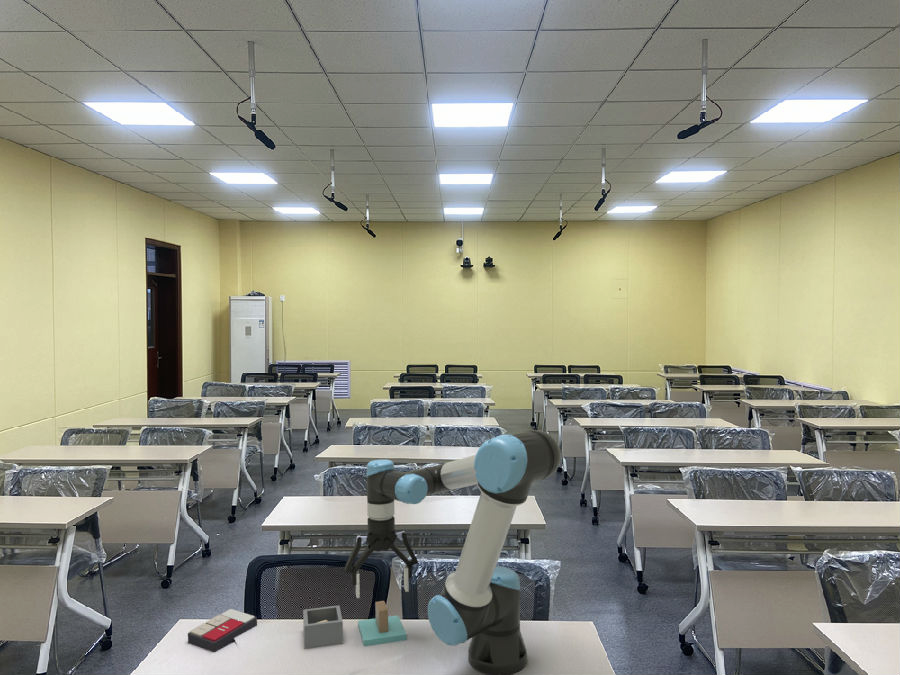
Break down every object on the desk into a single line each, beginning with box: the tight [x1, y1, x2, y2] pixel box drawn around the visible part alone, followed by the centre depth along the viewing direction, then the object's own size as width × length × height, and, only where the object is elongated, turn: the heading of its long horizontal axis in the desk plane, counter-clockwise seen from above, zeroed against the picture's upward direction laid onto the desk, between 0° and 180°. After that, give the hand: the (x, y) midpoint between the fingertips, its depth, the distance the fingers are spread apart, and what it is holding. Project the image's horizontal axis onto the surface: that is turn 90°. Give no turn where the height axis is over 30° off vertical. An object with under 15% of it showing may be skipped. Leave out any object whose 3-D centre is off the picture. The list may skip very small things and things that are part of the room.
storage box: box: [302, 605, 344, 650], centre depth 165 cm, size 10×10×7 cm
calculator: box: [187, 608, 258, 653], centre depth 169 cm, size 11×4×15 cm
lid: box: [357, 600, 408, 647], centre depth 168 cm, size 12×12×8 cm
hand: (382, 593), depth 167 cm, fingers open, 13 cm apart
